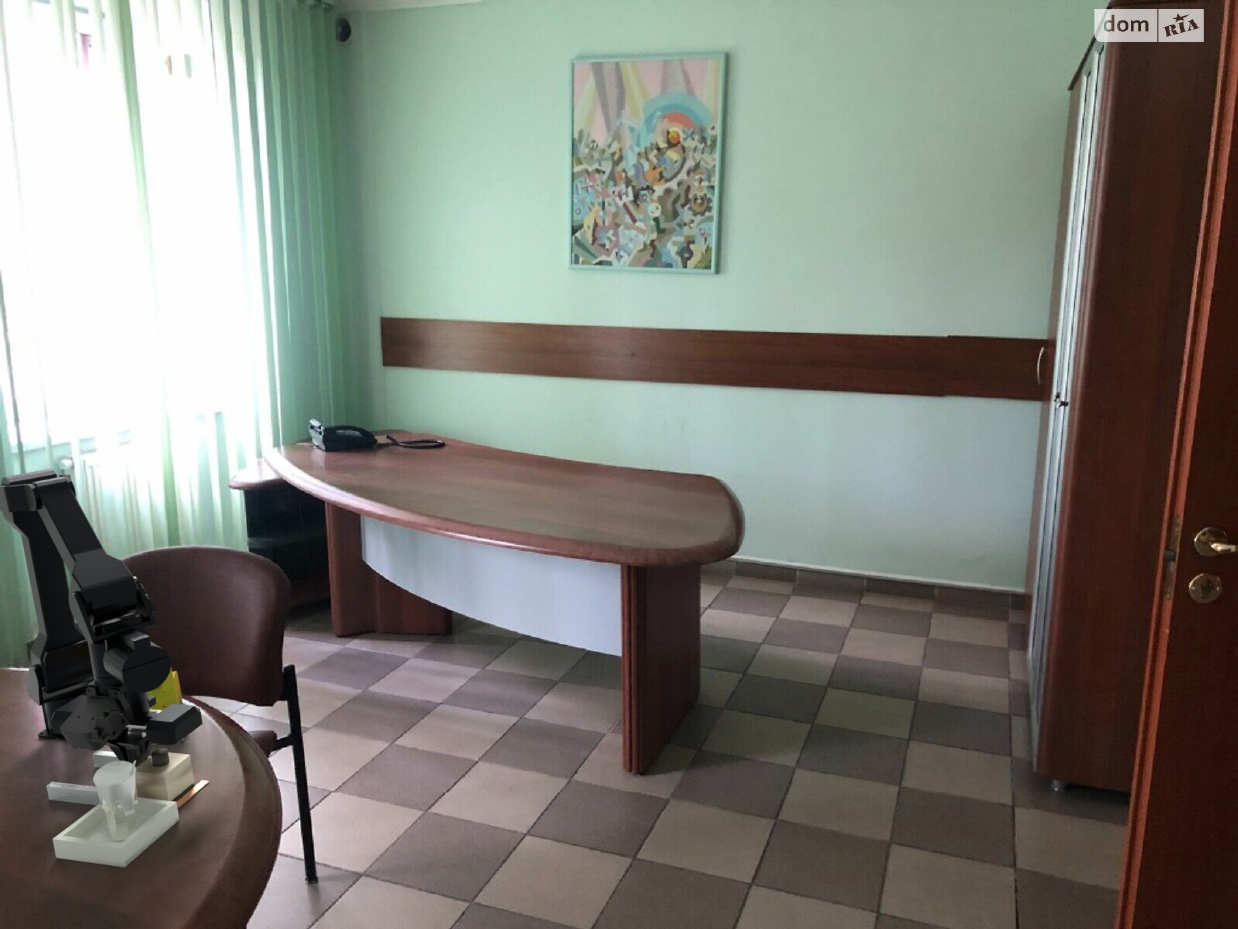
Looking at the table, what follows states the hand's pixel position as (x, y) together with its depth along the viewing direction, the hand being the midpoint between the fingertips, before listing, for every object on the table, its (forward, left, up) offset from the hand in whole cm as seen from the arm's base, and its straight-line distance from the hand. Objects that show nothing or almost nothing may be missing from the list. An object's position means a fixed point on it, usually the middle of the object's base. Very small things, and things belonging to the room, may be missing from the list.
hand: (136, 778), depth 128 cm
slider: (+4, 0, -2) cm, 4 cm away
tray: (+5, -10, -2) cm, 11 cm away
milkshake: (+7, -10, -1) cm, 12 cm away
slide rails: (-1, 0, -2) cm, 2 cm away
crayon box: (-6, +12, -2) cm, 13 cm away
